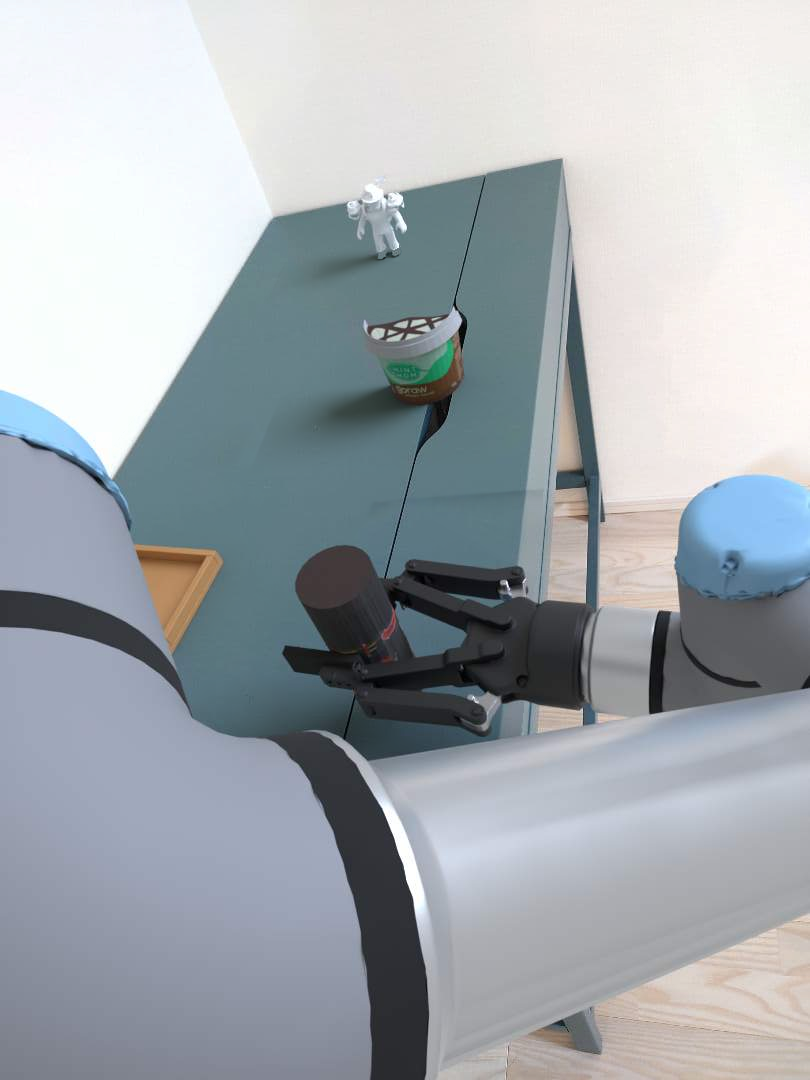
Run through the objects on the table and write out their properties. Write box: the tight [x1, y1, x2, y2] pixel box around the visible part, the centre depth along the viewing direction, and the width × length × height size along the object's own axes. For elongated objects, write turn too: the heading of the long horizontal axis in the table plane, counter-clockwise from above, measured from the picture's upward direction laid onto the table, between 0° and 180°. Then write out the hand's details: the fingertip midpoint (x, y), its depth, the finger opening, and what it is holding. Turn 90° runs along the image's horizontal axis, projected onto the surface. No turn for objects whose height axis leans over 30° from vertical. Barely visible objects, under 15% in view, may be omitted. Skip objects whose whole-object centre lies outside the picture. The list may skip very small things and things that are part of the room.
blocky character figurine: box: [346, 174, 408, 253], centre depth 124 cm, size 9×4×12 cm, turn 81°
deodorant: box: [294, 544, 423, 694], centre depth 64 cm, size 6×6×15 cm
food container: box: [362, 305, 465, 406], centre depth 98 cm, size 12×6×10 cm, turn 80°
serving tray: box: [134, 544, 224, 655], centre depth 89 cm, size 13×13×2 cm
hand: (306, 624), depth 65 cm, fingers closed on deodorant, 6 cm apart
